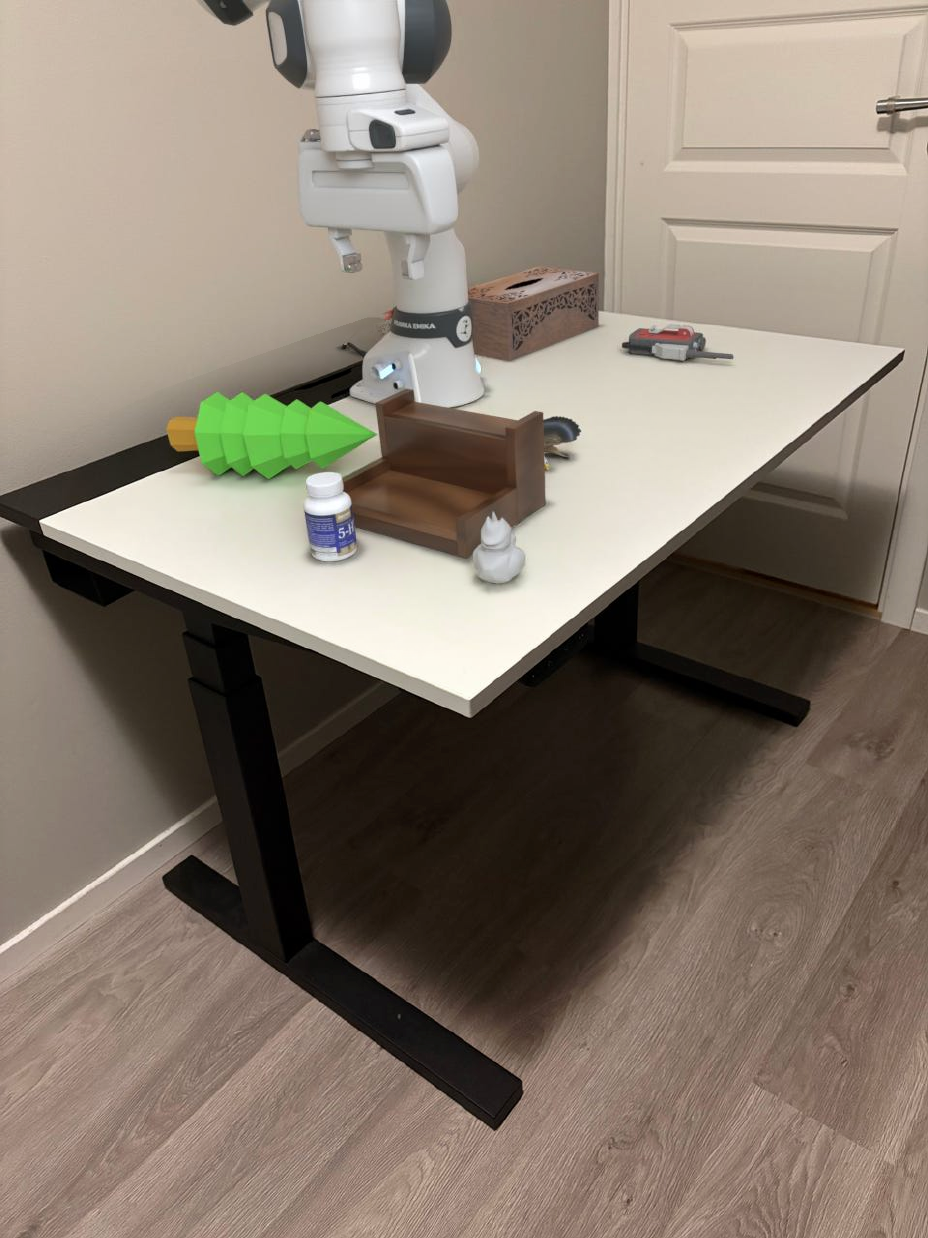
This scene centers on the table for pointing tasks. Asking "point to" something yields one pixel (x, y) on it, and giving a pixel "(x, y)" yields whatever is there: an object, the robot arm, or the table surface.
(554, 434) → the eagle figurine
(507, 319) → the tissue box cover
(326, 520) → the pill bottle
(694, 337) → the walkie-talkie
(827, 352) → the table surface
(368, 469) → the shelf
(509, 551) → the rubber duck
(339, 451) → the decorative tree
